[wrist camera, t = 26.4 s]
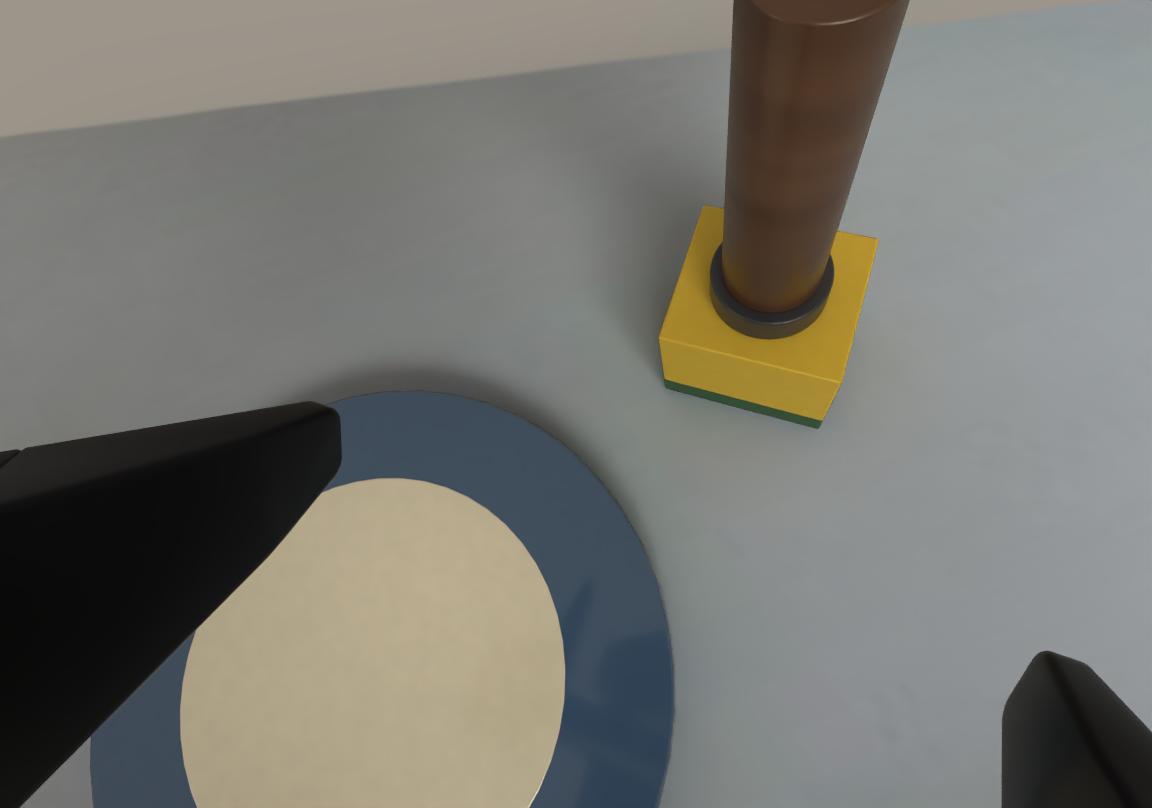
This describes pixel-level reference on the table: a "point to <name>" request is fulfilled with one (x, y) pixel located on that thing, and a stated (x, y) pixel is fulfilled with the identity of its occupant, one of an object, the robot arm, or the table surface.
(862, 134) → the sponge wand
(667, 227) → the table surface
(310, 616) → the plate
